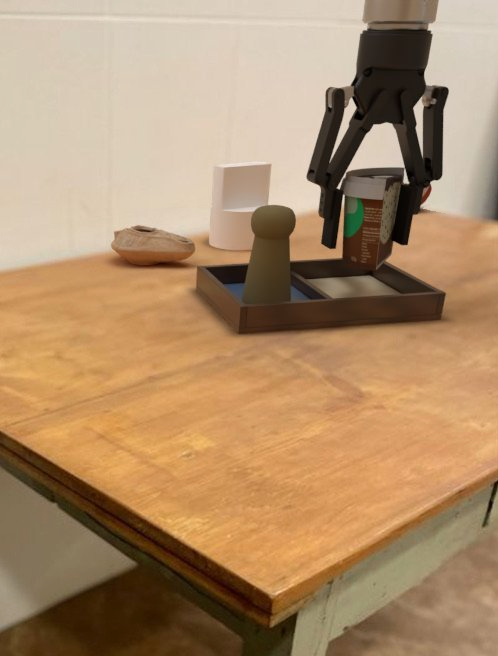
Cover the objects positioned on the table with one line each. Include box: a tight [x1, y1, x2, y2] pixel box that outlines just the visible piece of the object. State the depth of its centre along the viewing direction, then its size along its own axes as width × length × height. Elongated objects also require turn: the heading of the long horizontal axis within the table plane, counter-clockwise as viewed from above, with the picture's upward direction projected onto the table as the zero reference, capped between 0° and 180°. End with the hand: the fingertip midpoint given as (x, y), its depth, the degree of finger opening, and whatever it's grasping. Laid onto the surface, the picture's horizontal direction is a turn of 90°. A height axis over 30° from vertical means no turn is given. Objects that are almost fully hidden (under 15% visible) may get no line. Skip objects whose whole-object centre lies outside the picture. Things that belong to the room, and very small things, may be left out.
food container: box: [339, 166, 405, 270], centre depth 97 cm, size 12×6×10 cm, turn 153°
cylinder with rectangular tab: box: [208, 160, 272, 251], centre depth 126 cm, size 9×9×12 cm
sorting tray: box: [195, 257, 447, 335], centre depth 101 cm, size 25×18×4 cm
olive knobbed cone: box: [242, 204, 297, 304], centre depth 97 cm, size 6×6×11 cm
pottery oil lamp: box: [110, 224, 196, 266], centre depth 118 cm, size 9×12×7 cm
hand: (364, 244), depth 99 cm, fingers closed on food container, 9 cm apart
